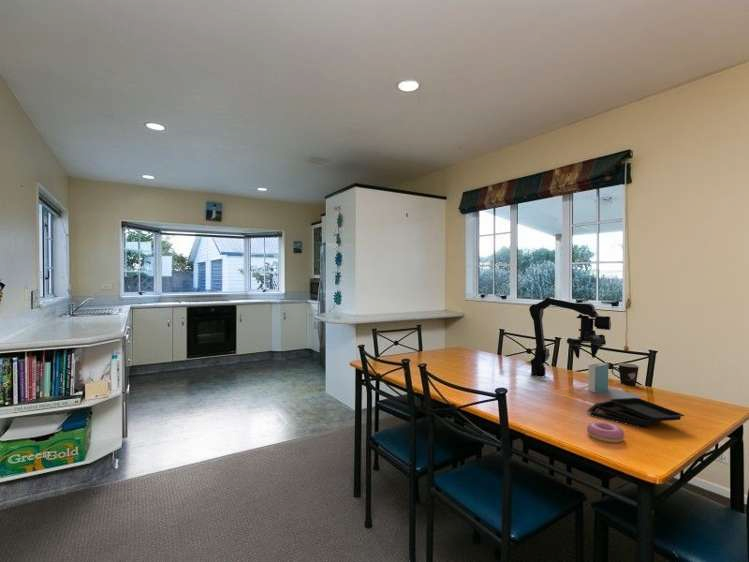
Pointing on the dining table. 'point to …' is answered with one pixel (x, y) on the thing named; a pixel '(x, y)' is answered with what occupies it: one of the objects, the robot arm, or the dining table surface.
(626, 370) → the coffee mug
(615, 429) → the doughnut
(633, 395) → the slate board
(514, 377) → the dining table surface
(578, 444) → the dining table surface
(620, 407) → the tray
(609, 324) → the robot arm
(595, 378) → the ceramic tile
